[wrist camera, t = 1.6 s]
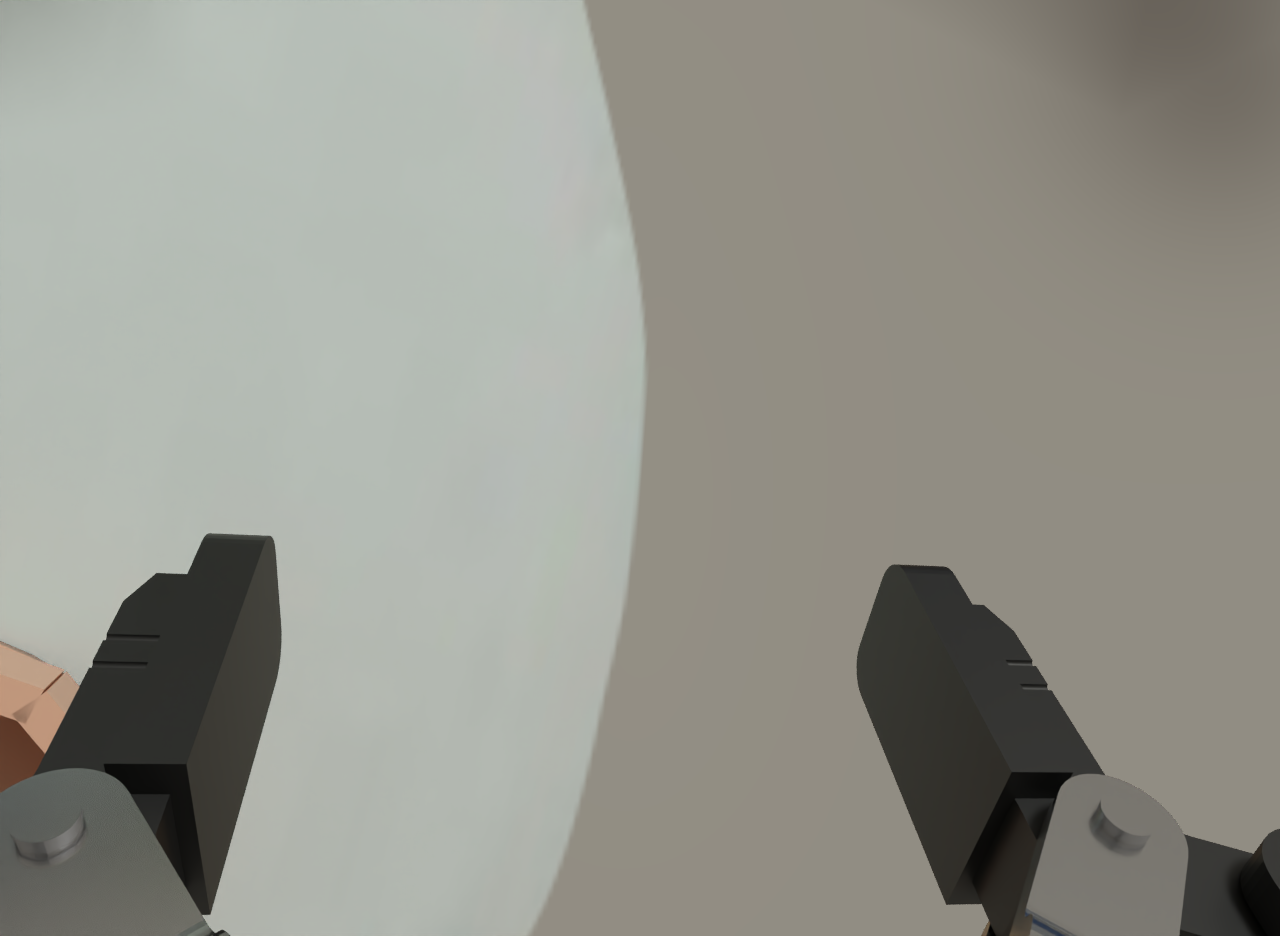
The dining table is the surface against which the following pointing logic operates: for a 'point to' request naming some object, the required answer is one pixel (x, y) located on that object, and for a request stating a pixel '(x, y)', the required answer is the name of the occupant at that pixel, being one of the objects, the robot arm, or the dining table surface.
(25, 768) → the terracotta bowl
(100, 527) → the dining table surface
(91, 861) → the robot arm
